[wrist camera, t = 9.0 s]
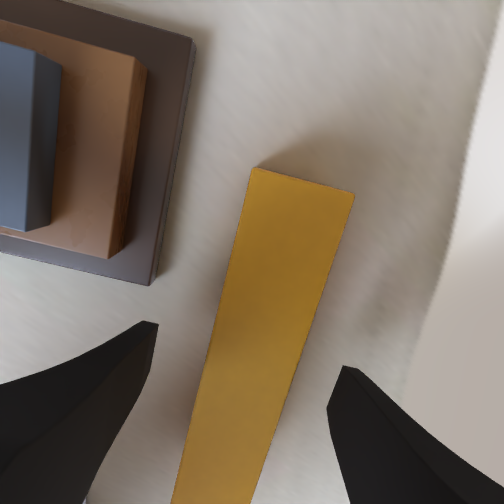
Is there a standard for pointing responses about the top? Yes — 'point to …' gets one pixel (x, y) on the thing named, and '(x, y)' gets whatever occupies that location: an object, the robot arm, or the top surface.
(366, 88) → the top surface
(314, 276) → the bar
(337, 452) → the robot arm
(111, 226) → the brown stepped stand
